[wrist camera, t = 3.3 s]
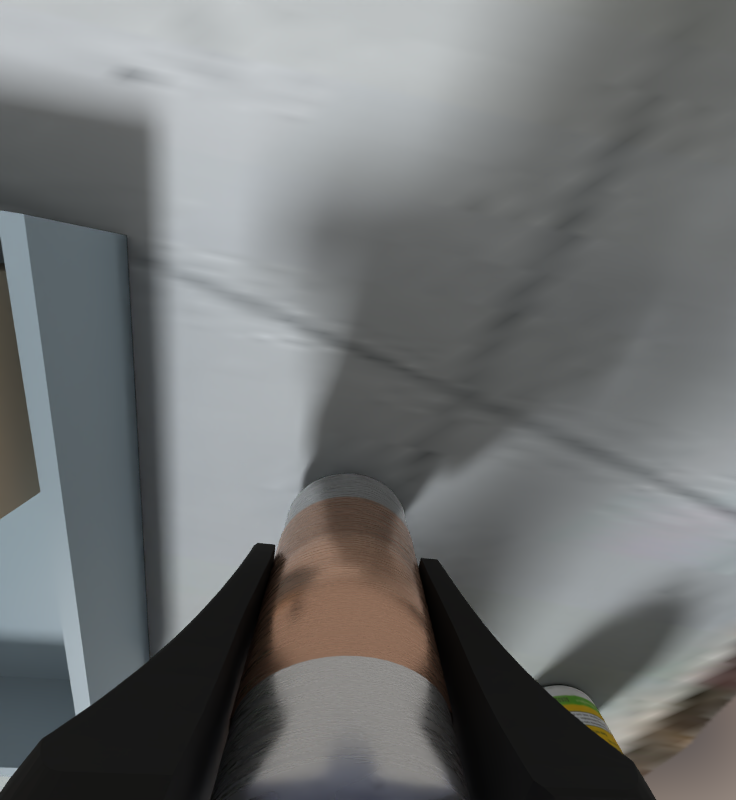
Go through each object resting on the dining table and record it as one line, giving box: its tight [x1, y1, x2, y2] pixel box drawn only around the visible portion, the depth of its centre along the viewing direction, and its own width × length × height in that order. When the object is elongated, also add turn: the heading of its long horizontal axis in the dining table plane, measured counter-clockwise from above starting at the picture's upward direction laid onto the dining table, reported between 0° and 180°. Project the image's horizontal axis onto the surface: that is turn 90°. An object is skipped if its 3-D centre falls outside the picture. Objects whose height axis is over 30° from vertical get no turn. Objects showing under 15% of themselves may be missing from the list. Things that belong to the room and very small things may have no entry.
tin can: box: [210, 473, 470, 800], centre depth 11 cm, size 5×5×9 cm
